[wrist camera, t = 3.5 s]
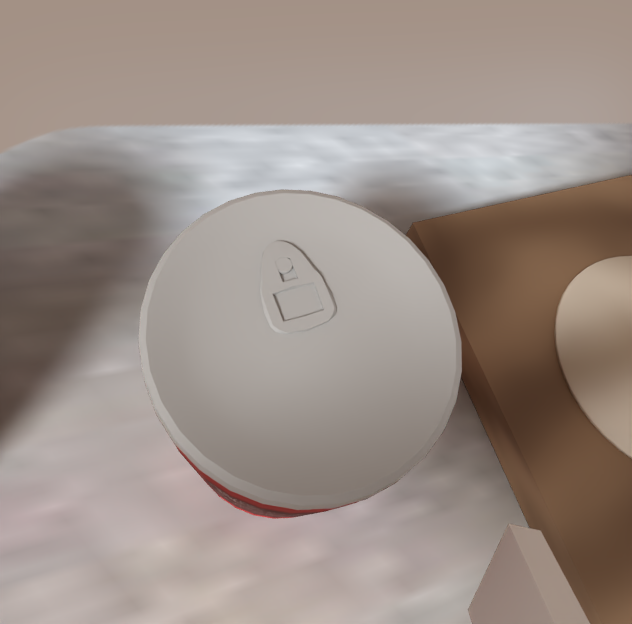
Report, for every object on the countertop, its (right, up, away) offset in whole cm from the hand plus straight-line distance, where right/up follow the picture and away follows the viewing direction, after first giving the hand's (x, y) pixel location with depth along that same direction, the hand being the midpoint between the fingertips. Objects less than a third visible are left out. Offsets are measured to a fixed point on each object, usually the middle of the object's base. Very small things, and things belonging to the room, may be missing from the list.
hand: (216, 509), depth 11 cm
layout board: (+18, +1, +14) cm, 23 cm away
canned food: (0, 0, +10) cm, 10 cm away
